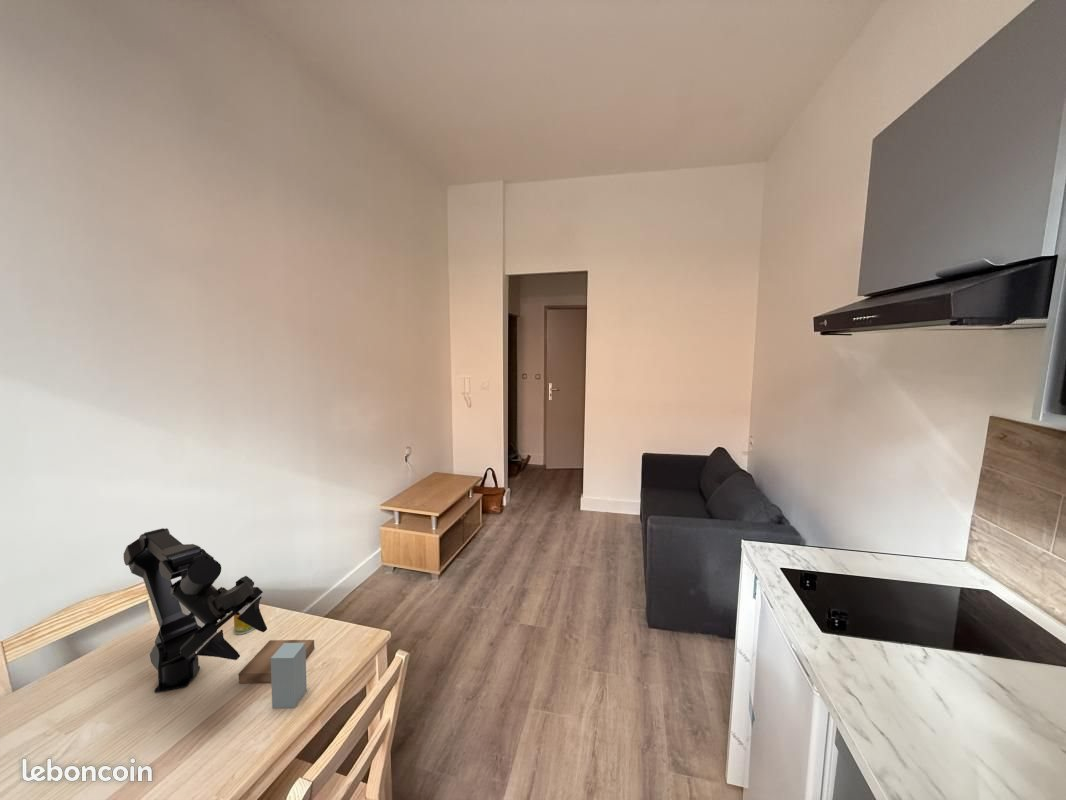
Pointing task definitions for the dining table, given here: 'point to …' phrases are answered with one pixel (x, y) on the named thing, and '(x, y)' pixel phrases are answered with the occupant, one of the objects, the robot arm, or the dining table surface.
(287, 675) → the slate post
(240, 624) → the supplement bottle
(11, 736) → the dining table surface
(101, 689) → the dining table surface
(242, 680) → the walnut board
